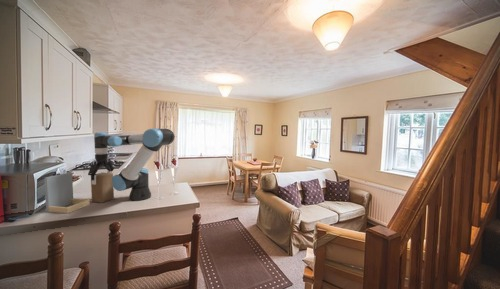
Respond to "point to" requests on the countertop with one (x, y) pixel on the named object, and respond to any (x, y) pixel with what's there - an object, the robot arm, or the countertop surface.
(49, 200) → the board
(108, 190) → the wooden block
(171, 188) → the countertop surface
